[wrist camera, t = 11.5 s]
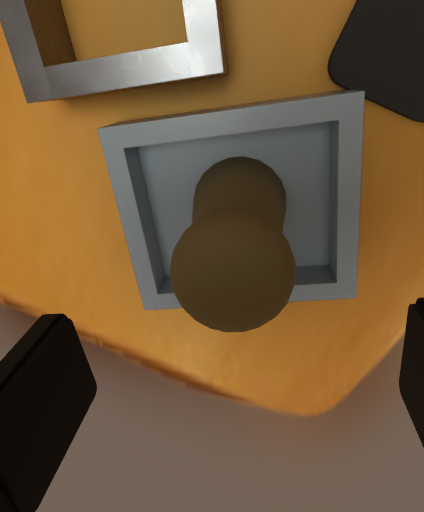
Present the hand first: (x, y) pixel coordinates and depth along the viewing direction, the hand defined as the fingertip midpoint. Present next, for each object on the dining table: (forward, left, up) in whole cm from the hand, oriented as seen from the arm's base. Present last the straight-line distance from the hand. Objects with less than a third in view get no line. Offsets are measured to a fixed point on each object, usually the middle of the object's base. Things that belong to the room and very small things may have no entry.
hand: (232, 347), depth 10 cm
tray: (0, +1, -16) cm, 16 cm away
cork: (0, 0, -15) cm, 15 cm away
